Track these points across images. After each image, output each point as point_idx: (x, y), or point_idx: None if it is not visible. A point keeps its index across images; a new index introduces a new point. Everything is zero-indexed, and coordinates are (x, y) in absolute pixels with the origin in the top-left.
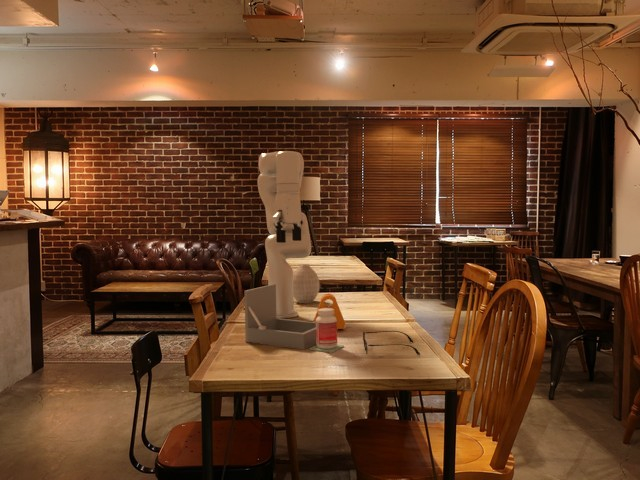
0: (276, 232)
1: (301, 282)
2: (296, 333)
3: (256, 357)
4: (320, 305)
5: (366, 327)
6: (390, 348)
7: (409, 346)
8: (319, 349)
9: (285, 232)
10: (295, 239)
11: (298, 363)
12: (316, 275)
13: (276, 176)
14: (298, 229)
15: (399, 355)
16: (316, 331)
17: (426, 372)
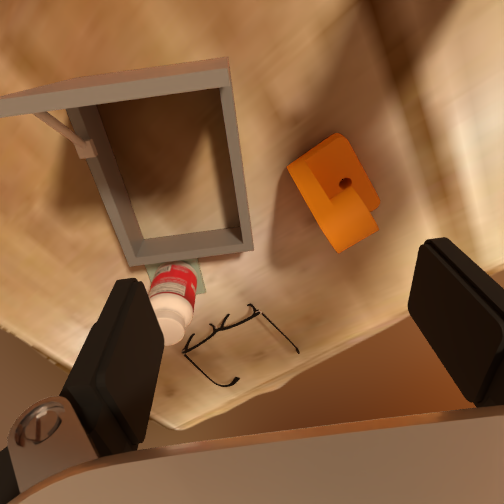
0: (80, 360)
1: None
2: (123, 250)
3: (18, 210)
4: (311, 211)
5: (380, 244)
6: (243, 344)
7: (223, 385)
8: (151, 276)
9: (140, 428)
10: (419, 276)
11: (65, 291)
12: None
13: None
14: (475, 393)
15: (215, 366)
16: (151, 286)
17: (169, 408)
